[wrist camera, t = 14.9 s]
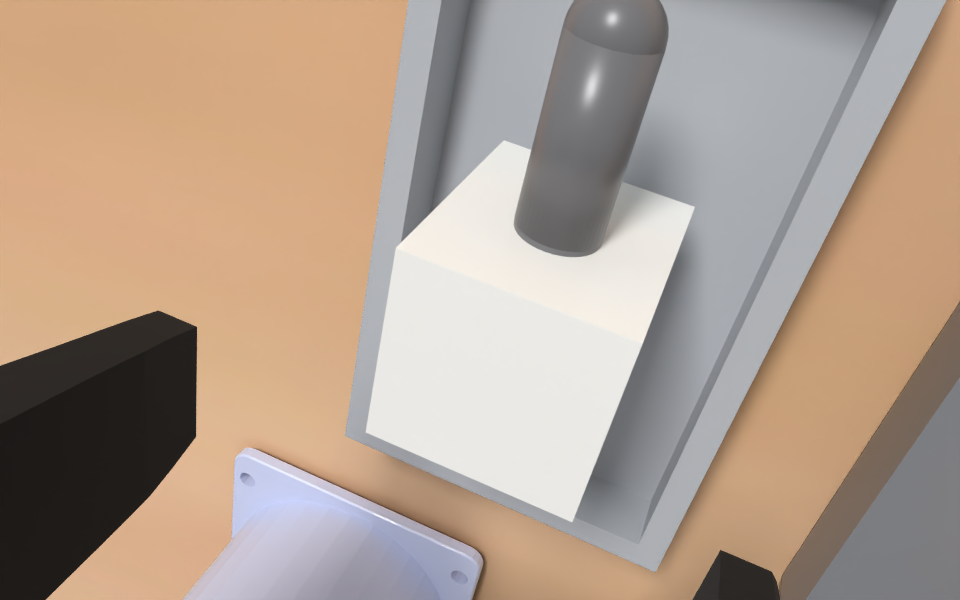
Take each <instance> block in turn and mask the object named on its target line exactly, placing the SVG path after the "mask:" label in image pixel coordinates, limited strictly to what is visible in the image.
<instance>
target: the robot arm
mask: <svg viewBox="0 0 960 600" xmlns="http://www.w3.org/2000/svg"><path fill="white" fill-rule="evenodd" d="M196 374H197V327H196V326H193V325H191V324H189V323H186V322H184V321H182V320H179V319H177V318H175V317H172V316H170V315H168V314H165V313H163V312H161V311H156V312H153V313H150V314H146V315H143V316H140V317H137V318H134V319H131V320H128V321H125V322H123V323H120V324H117V325H114V326H111V327H108V328H106V329H103V330H100V331H97V332H94V333H92V334H89V335H86V336H83V337H81V338H78V339H75V340H72V341H69V342H67V343H64V344H61V345H58V346H56V347H53V348H50V349H47V350H44V351H41V352H38V353H36V354H33V355H30V356H27V357H24V358H21V359H18V360H16V361H13V362H10V363H7V364H4V365H1V366H0V600H46V599H47V598H48V597H49V596H50V595H51V594H52V593H53V592H54V591H55V590H56V589H57V588H58V587H59V586H60V585H61V584H62V583H63V582H64V581H65V580H66V579H67V578H68V577H69V576H70V575H71V574H72V573H73V572H74V571H75V570H76V569H77V568H78V567H79V566H80V565H81V564H82V563H83V562H84V561H85V560H86V559H87V558H88V557H89V556H90V555H91V554H92V553H93V552H94V551H96V550H97V549H98V548H99V547H100V546H101V545H102V544H103V543H104V542H105V541H106V540H107V539H108V538H109V537H110V536H111V535H112V534H113V533H114V532H115V531H116V530H117V529H118V528H119V527H120V526H121V525H122V524H123V523H124V522H125V521H126V520H127V519H128V518H129V517H130V516H131V515H132V514H133V513H134V512H135V511H136V510H137V509H138V508H139V507H140V505H141V504H142V503H143V502H144V501H145V500H146V499H147V498H148V497H149V496H150V495H151V494H152V493H153V491H154V490H155V489H156V488H157V486H158V485H159V484H160V483H161V481H162V480H163V479H164V478H165V476H166V475H167V474H168V473H169V472H170V470H171V469H172V468H173V466H174V465H175V464H176V462H177V461H178V460H179V458H180V457H181V456H182V454H183V453H184V452H185V451H186V449H187V448H188V447H189V445H190V444H191V443H192V441H193V440H194V439H195V437H196ZM482 567H483V559H482V557H481V555H480V553H479V552H478V551H477V550H476V549H474V548H472V547H471V546H468V545H466V544H464V543H462V542H460V541H457V540H455V539H453V538H451V537H449V536H446V535H444V534H442V533H440V532H438V531H435V530H433V529H431V528H429V527H427V526H424V525H422V524H420V523H418V522H415V521H413V520H411V519H409V518H407V517H404V516H402V515H400V514H398V513H396V512H393V511H391V510H389V509H387V508H385V507H382V506H380V505H378V504H376V503H374V502H371V501H369V500H367V499H365V498H362V497H360V496H358V495H356V494H354V493H351V492H349V491H347V490H345V489H343V488H340V487H338V486H336V485H334V484H332V483H329V482H327V481H325V480H323V479H321V478H318V477H316V476H314V475H312V474H310V473H307V472H305V471H303V470H301V469H298V468H296V467H294V466H292V465H290V464H287V463H285V462H283V461H281V460H279V459H276V458H274V457H272V456H270V455H268V454H265V453H263V452H261V451H259V450H257V449H253V448H245V449H243V450H242V451H241V452H240V453H239V454H238V455H237V456H236V458H235V467H234V491H233V515H232V540H231V541H230V543H229V544H228V545H227V546H226V547H225V549H224V550H223V551H222V552H221V553H220V555H219V556H218V557H217V558H216V559H215V561H214V562H213V563H212V564H211V565H210V567H209V568H208V569H207V570H206V572H205V573H204V574H203V575H202V576H201V578H200V579H199V580H198V581H197V582H196V584H195V585H194V586H193V587H192V588H191V590H190V591H189V592H188V593H187V594H186V596H185V597H184V598H183V599H182V600H472V599H473V596H474V592H475V589H476V586H477V583H478V580H479V577H480V573H481V570H482ZM693 600H780V598H779V592H778V586H777V582H776V579H775V577H774V575H773V573H772V572H771V571H769V570H766V569H764V568H762V567H759V566H757V565H755V564H752V563H750V562H747V561H745V560H743V559H740V558H738V557H736V556H733V555H731V554H729V553H726V552H724V551H722V550H720V552H719V554H718V556H717V557H716V559H715V561H714V563H713V565H712V566H711V568H710V570H709V572H708V573H707V575H706V577H705V579H704V581H703V582H702V584H701V586H700V588H699V589H698V591H697V593H696V595H695V596H694V598H693Z"/></svg>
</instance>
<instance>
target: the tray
mask: <svg viewBox="0 0 960 600" xmlns="http://www.w3.org/2000/svg"><path fill="white" fill-rule="evenodd" d="M573 1H574V0H408V7H407V14H406V21H405V27H404V34H403V41H402V48H401V55H400V62H399V69H398V76H397V82H396V89H395V96H394V103H393V110H392V117H391V124H390V131H389V137H388V144H387V151H386V158H385V165H384V172H383V179H382V186H381V192H380V199H379V206H378V213H377V220H376V227H375V234H374V240H373V247H372V254H371V261H370V268H369V275H368V282H367V289H366V295H365V302H364V309H363V316H362V323H361V330H360V337H359V344H358V350H357V357H356V364H355V371H354V378H353V385H352V392H351V399H350V405H349V412H348V419H347V426H346V433H345V436H346V437H348V438H351V439H353V440H355V441H358V442H360V443H362V444H364V445H367V446H369V447H371V448H373V449H376V450H378V451H380V452H383V453H385V454H387V455H389V456H392V457H394V458H396V459H398V460H401V461H403V462H405V463H408V464H410V465H412V466H414V467H417V468H419V469H421V470H424V471H426V472H428V473H430V474H433V475H435V476H437V477H439V478H442V479H444V480H446V481H449V482H451V483H453V484H455V485H458V486H460V487H462V488H464V489H467V490H469V491H471V492H474V493H476V494H478V495H480V496H483V497H485V498H487V499H490V500H492V501H494V502H496V503H499V504H501V505H503V506H505V507H508V508H510V509H512V510H515V511H517V512H519V513H521V514H524V515H526V516H528V517H531V518H533V519H535V520H537V521H540V522H542V523H544V524H546V525H549V526H551V527H553V528H556V529H558V530H560V531H562V532H565V533H567V534H569V535H571V536H574V537H576V538H578V539H581V540H583V541H585V542H587V543H590V544H592V545H594V546H597V547H599V548H601V549H603V550H606V551H608V552H610V553H612V554H615V555H617V556H619V557H622V558H624V559H626V560H628V561H631V562H633V563H635V564H637V565H640V566H642V567H644V568H647V569H649V570H651V571H653V572H656V570H657V568H658V566H659V565H660V563H661V561H662V559H663V557H664V555H665V553H666V551H667V549H668V547H669V545H670V543H671V541H672V539H673V537H674V535H675V533H676V531H677V529H678V527H679V525H680V523H681V521H682V519H683V517H684V515H685V513H686V511H687V509H688V507H689V505H690V504H691V502H692V500H693V498H694V496H695V494H696V492H697V490H698V488H699V486H700V484H701V482H702V480H703V478H704V476H705V474H706V472H707V470H708V468H709V466H710V464H711V462H712V460H713V458H714V456H715V454H716V452H717V450H718V448H719V446H720V444H721V443H722V441H723V439H724V437H725V435H726V433H727V431H728V429H729V427H730V425H731V423H732V421H733V419H734V417H735V415H736V413H737V411H738V409H739V407H740V405H741V403H742V401H743V399H744V397H745V395H746V393H747V391H748V389H749V387H750V385H751V383H752V382H753V380H754V378H755V376H756V374H757V372H758V370H759V368H760V366H761V364H762V362H763V360H764V358H765V356H766V354H767V352H768V350H769V348H770V346H771V344H772V342H773V340H774V338H775V336H776V334H777V332H778V330H779V328H780V326H781V324H782V323H783V321H784V319H785V317H786V315H787V313H788V311H789V309H790V307H791V305H792V303H793V301H794V299H795V297H796V295H797V293H798V291H799V289H800V287H801V285H802V283H803V281H804V279H805V277H806V275H807V273H808V271H809V269H810V267H811V265H812V263H813V262H814V260H815V258H816V256H817V254H818V252H819V250H820V248H821V246H822V244H823V242H824V240H825V238H826V236H827V234H828V232H829V230H830V228H831V226H832V224H833V222H834V220H835V218H836V216H837V214H838V212H839V210H840V208H841V206H842V204H843V202H844V201H845V199H846V197H847V195H848V193H849V191H850V189H851V187H852V185H853V183H854V181H855V179H856V177H857V175H858V173H859V171H860V169H861V167H862V165H863V163H864V161H865V159H866V157H867V155H868V153H869V151H870V149H871V147H872V145H873V143H874V141H875V140H876V138H877V136H878V134H879V132H880V130H881V128H882V126H883V124H884V122H885V120H886V118H887V116H888V114H889V112H890V110H891V108H892V106H893V104H894V102H895V100H896V98H897V96H898V94H899V92H900V90H901V88H902V86H903V84H904V82H905V80H906V79H907V77H908V75H909V73H910V71H911V69H912V67H913V65H914V63H915V61H916V59H917V57H918V55H919V53H920V51H921V49H922V47H923V45H924V43H925V41H926V39H927V37H928V35H929V33H930V31H931V29H932V27H933V25H934V23H935V21H936V20H937V18H938V16H939V14H940V12H941V10H942V8H943V6H944V4H945V2H946V0H660V2H661V3H662V5H663V7H664V10H665V12H666V15H667V19H668V25H669V38H668V42H667V46H666V51H665V54H664V57H663V60H662V63H661V66H660V69H659V72H658V75H657V78H656V81H655V84H654V87H653V90H652V93H651V96H650V99H649V102H648V105H647V108H646V111H645V114H644V117H643V120H642V123H641V126H640V130H639V133H638V136H637V139H636V142H635V145H634V148H633V151H632V154H631V157H630V160H629V163H628V166H627V169H626V172H625V175H624V178H623V181H622V182H625V183H628V184H631V185H633V186H636V187H639V188H642V189H645V190H648V191H651V192H654V193H656V194H659V195H662V196H665V197H668V198H671V199H674V200H676V201H679V202H682V203H685V204H688V205H691V206H694V207H695V208H694V211H693V214H692V216H691V219H690V221H689V224H688V227H687V229H686V232H685V235H684V237H683V240H682V242H681V245H680V248H679V250H678V253H677V255H676V258H675V261H674V263H673V266H672V268H671V271H670V274H669V276H668V279H667V281H666V284H665V287H664V289H663V292H662V295H661V297H660V300H659V302H658V305H657V308H656V310H655V313H654V315H653V318H652V321H651V323H650V326H649V328H648V331H647V334H646V336H645V339H644V341H643V344H642V347H641V349H640V352H639V354H638V357H637V359H636V362H635V364H634V367H633V369H632V372H631V375H630V377H629V380H628V382H627V385H626V387H625V390H624V392H623V395H622V397H621V400H620V402H619V405H618V407H617V410H616V413H615V415H614V418H613V420H612V423H611V425H610V428H609V430H608V433H607V435H606V438H605V440H604V443H603V446H602V448H601V451H600V453H599V456H598V458H597V461H596V463H595V466H594V468H593V471H592V473H591V476H590V479H589V481H588V484H587V486H586V489H585V491H584V494H583V496H582V499H581V501H580V504H579V506H578V509H577V512H576V514H575V517H574V519H573V522H570V521H568V520H566V519H563V518H561V517H559V516H556V515H554V514H552V513H549V512H547V511H545V510H543V509H540V508H538V507H536V506H533V505H531V504H529V503H527V502H524V501H522V500H520V499H517V498H515V497H513V496H510V495H508V494H506V493H504V492H501V491H499V490H497V489H494V488H492V487H490V486H487V485H485V484H483V483H481V482H478V481H476V480H474V479H471V478H469V477H467V476H465V475H462V474H460V473H458V472H455V471H453V470H451V469H448V468H446V467H444V466H442V465H439V464H437V463H435V462H432V461H430V460H428V459H426V458H423V457H421V456H419V455H416V454H414V453H412V452H409V451H407V450H405V449H403V448H400V447H398V446H396V445H393V444H391V443H389V442H386V441H384V440H382V439H380V438H377V437H375V436H373V435H370V434H368V433H366V427H367V421H368V414H369V408H370V402H371V396H372V390H373V384H374V378H375V372H376V366H377V359H378V353H379V347H380V341H381V335H382V329H383V323H384V317H385V311H386V305H387V298H388V292H389V286H390V280H391V274H392V268H393V262H394V256H395V250H396V247H397V246H398V245H399V244H400V243H401V242H402V241H403V240H404V239H405V238H406V237H407V236H408V235H409V234H410V233H411V232H412V231H413V230H414V229H415V228H416V227H417V226H418V225H419V224H420V223H421V222H422V221H423V220H424V219H425V218H426V217H427V216H428V215H429V214H430V213H431V212H432V211H433V210H434V209H435V208H436V207H437V206H438V205H439V204H440V203H441V202H442V201H443V200H444V199H445V198H446V197H447V196H448V195H449V194H450V193H451V192H452V191H453V190H454V189H455V188H456V187H457V186H458V185H459V184H460V183H461V182H462V181H463V180H464V179H465V178H466V177H467V176H468V175H469V174H470V173H471V172H472V171H473V170H475V169H476V168H477V167H478V166H479V165H480V164H481V163H482V162H483V161H484V160H485V159H486V158H487V157H488V156H489V155H490V154H491V153H492V152H493V151H494V150H495V149H496V148H497V147H498V146H499V145H500V144H501V143H502V142H503V141H504V140H505V141H507V142H510V143H513V144H516V145H519V146H522V147H525V148H527V149H530V150H531V149H532V145H533V141H534V137H535V133H536V129H537V125H538V121H539V117H540V113H541V109H542V106H543V102H544V98H545V94H546V90H547V86H548V82H549V78H550V74H551V70H552V66H553V62H554V58H555V54H556V50H557V46H558V42H559V38H560V34H561V31H562V27H563V23H564V19H565V17H566V14H567V11H568V9H569V8H570V6H571V4H572V3H573Z"/></svg>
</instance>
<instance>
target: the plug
mask: <svg viewBox="0 0 960 600" xmlns="http://www.w3.org/2000/svg"><path fill="white" fill-rule="evenodd" d="M668 38H669V25H668V19H667V15H666V12H665V10H664V7H663V5H662V3H661V2H660V0H574V1H573V3H572V4H571V6H570V8H569V9H568V11H567V14H566V17H565V19H564V23H563V27H562V31H561V34H560V38H559V42H558V46H557V50H556V54H555V58H554V62H553V66H552V70H551V74H550V78H549V82H548V86H547V90H546V94H545V98H544V102H543V106H542V109H541V113H540V117H539V121H538V125H537V129H536V133H535V137H534V141H533V145H532V149H531V150H530V149H527V148H525V147H522V146H519V145H516V144H513V143H510V142H507V141H505V140H504V141H503V142H502V143H501V144H500V145H499V146H498V147H497V148H496V149H495V150H494V151H493V152H492V153H491V154H490V155H489V156H488V157H487V158H486V159H485V160H484V161H483V162H482V163H481V164H480V165H479V166H478V167H477V168H476V169H475V170H473V171H472V172H471V173H470V174H469V175H468V176H467V177H466V178H465V179H464V180H463V181H462V182H461V183H460V184H459V185H458V186H457V187H456V188H455V189H454V190H453V191H452V192H451V193H450V194H449V195H448V196H447V197H446V198H445V199H444V200H443V201H442V202H441V203H440V204H439V205H438V206H437V207H436V208H435V209H434V210H433V211H432V212H431V213H430V214H429V215H428V216H427V217H426V218H425V219H424V220H423V221H422V222H421V223H420V224H419V225H418V226H417V227H416V228H415V229H414V230H413V231H412V232H411V233H410V234H409V235H408V236H407V237H406V238H405V239H404V240H403V241H402V242H401V243H400V244H399V245H398V246H397V247H396V250H395V256H394V262H393V268H392V274H391V280H390V286H389V292H388V298H387V305H386V311H385V317H384V323H383V329H382V335H381V341H380V347H379V353H378V359H377V366H376V372H375V378H374V384H373V390H372V396H371V402H370V408H369V414H368V421H367V427H366V433H368V434H370V435H373V436H375V437H377V438H380V439H382V440H384V441H386V442H389V443H391V444H393V445H396V446H398V447H400V448H403V449H405V450H407V451H409V452H412V453H414V454H416V455H419V456H421V457H423V458H426V459H428V460H430V461H432V462H435V463H437V464H439V465H442V466H444V467H446V468H448V469H451V470H453V471H455V472H458V473H460V474H462V475H465V476H467V477H469V478H471V479H474V480H476V481H478V482H481V483H483V484H485V485H487V486H490V487H492V488H494V489H497V490H499V491H501V492H504V493H506V494H508V495H510V496H513V497H515V498H517V499H520V500H522V501H524V502H527V503H529V504H531V505H533V506H536V507H538V508H540V509H543V510H545V511H547V512H549V513H552V514H554V515H556V516H559V517H561V518H563V519H566V520H568V521H570V522H573V519H574V517H575V514H576V512H577V509H578V506H579V504H580V501H581V499H582V496H583V494H584V491H585V489H586V486H587V484H588V481H589V479H590V476H591V473H592V471H593V468H594V466H595V463H596V461H597V458H598V456H599V453H600V451H601V448H602V446H603V443H604V440H605V438H606V435H607V433H608V430H609V428H610V425H611V423H612V420H613V418H614V415H615V413H616V410H617V407H618V405H619V402H620V400H621V397H622V395H623V392H624V390H625V387H626V385H627V382H628V380H629V377H630V375H631V372H632V369H633V367H634V364H635V362H636V359H637V357H638V354H639V352H640V349H641V347H642V344H643V341H644V339H645V336H646V334H647V331H648V328H649V326H650V323H651V321H652V318H653V315H654V313H655V310H656V308H657V305H658V302H659V300H660V297H661V295H662V292H663V289H664V287H665V284H666V281H667V279H668V276H669V274H670V271H671V268H672V266H673V263H674V261H675V258H676V255H677V253H678V250H679V248H680V245H681V242H682V240H683V237H684V235H685V232H686V229H687V227H688V224H689V221H690V219H691V216H692V214H693V211H694V208H695V207H694V206H691V205H688V204H685V203H682V202H679V201H676V200H674V199H671V198H668V197H665V196H662V195H659V194H656V193H654V192H651V191H648V190H645V189H642V188H639V187H636V186H633V185H631V184H628V183H625V182H622V181H623V178H624V175H625V172H626V169H627V166H628V163H629V160H630V157H631V154H632V151H633V148H634V145H635V142H636V139H637V136H638V133H639V130H640V126H641V123H642V120H643V117H644V114H645V111H646V108H647V105H648V102H649V99H650V96H651V93H652V90H653V87H654V84H655V81H656V78H657V75H658V72H659V69H660V66H661V63H662V60H663V57H664V54H665V51H666V46H667V42H668Z"/></svg>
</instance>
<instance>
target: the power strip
mask: <svg viewBox="0 0 960 600" xmlns="http://www.w3.org/2000/svg"><path fill="white" fill-rule="evenodd" d="M780 600H960V303H959V304H958V306H957V307H956V309H955V311H954V312H953V314H952V315H951V317H950V318H949V320H948V321H947V323H946V324H945V326H944V327H943V329H942V331H941V332H940V334H939V335H938V337H937V338H936V340H935V341H934V343H933V344H932V346H931V347H930V349H929V351H928V352H927V354H926V355H925V357H924V358H923V360H922V361H921V363H920V364H919V366H918V367H917V369H916V371H915V372H914V374H913V375H912V377H911V378H910V380H909V381H908V383H907V384H906V386H905V387H904V389H903V391H902V392H901V394H900V395H899V397H898V398H897V400H896V401H895V403H894V404H893V406H892V408H891V409H890V411H889V412H888V414H887V415H886V417H885V418H884V420H883V421H882V423H881V424H880V426H879V428H878V429H877V431H876V432H875V434H874V435H873V437H872V438H871V440H870V441H869V443H868V444H867V446H866V448H865V449H864V451H863V452H862V454H861V455H860V457H859V458H858V460H857V461H856V463H855V464H854V466H853V468H852V469H851V471H850V472H849V474H848V475H847V477H846V478H845V480H844V481H843V483H842V484H841V486H840V488H839V489H838V491H837V492H836V494H835V495H834V497H833V498H832V500H831V501H830V503H829V504H828V506H827V508H826V509H825V511H824V512H823V514H822V515H821V517H820V518H819V520H818V521H817V523H816V524H815V526H814V528H813V529H812V531H811V532H810V534H809V535H808V537H807V538H806V540H805V541H804V543H803V544H802V546H801V548H800V549H799V551H798V552H797V554H796V555H795V557H794V558H793V560H792V561H791V563H790V564H789V566H788V568H787V569H786V571H785V572H784V574H783V575H782V583H781V594H780Z"/></svg>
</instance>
